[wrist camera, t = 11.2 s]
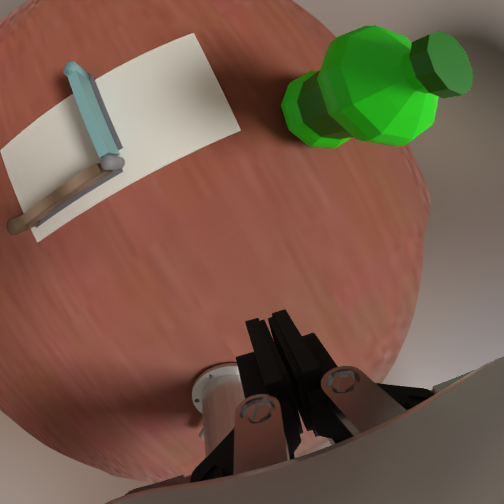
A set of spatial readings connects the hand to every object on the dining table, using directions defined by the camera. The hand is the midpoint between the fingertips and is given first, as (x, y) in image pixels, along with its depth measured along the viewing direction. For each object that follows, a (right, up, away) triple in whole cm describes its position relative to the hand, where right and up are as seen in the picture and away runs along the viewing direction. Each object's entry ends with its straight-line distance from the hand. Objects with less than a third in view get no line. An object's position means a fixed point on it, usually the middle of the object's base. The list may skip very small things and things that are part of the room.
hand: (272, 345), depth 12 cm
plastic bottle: (+7, +22, +24) cm, 33 cm away
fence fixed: (-24, +11, +21) cm, 34 cm away
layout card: (-19, +19, +20) cm, 34 cm away
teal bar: (-19, +20, +19) cm, 34 cm away
